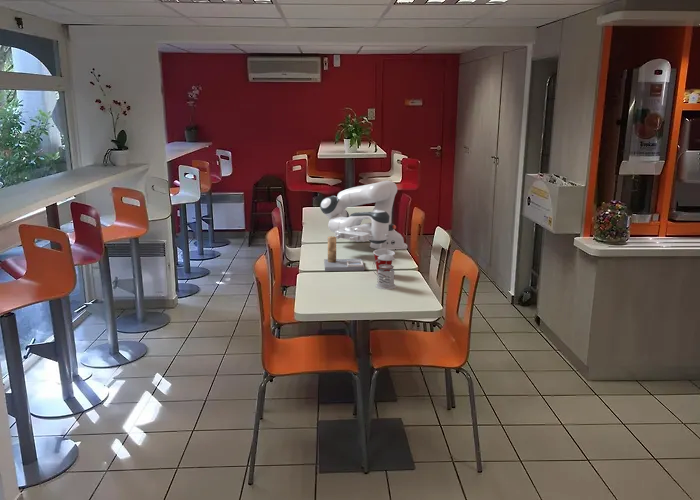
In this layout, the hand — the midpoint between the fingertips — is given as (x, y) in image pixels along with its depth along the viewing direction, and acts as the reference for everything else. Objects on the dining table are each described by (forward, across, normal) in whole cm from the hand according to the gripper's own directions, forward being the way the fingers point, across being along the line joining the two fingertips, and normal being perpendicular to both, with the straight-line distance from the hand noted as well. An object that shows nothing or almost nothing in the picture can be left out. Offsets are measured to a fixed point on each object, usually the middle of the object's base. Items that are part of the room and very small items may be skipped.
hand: (344, 238), depth 315 cm
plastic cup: (+11, -32, -13) cm, 37 cm away
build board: (+10, -7, -12) cm, 18 cm away
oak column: (+12, 0, -10) cm, 16 cm away
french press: (+27, -42, -13) cm, 51 cm away
